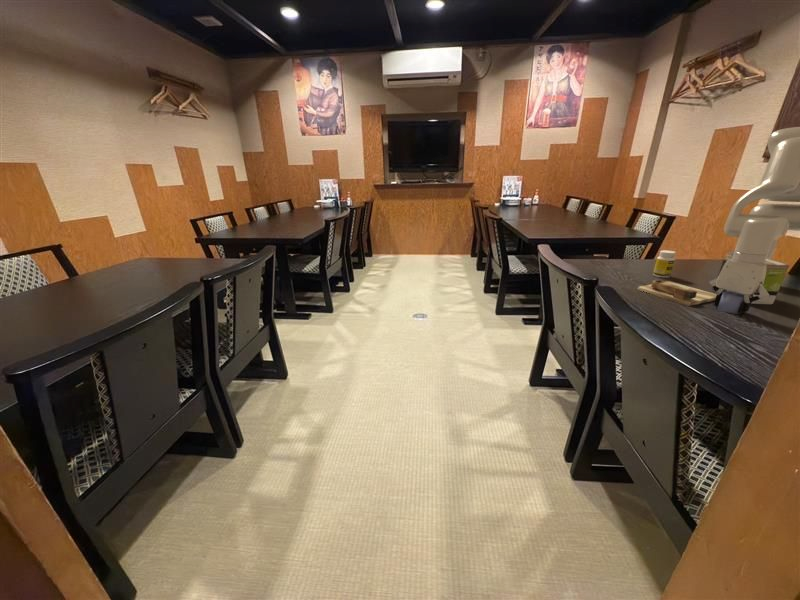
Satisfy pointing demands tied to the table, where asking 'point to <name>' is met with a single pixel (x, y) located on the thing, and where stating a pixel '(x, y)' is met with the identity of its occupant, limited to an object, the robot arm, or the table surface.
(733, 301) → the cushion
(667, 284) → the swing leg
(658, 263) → the supplement bottle
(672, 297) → the board
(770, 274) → the tea box
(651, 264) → the table surface
